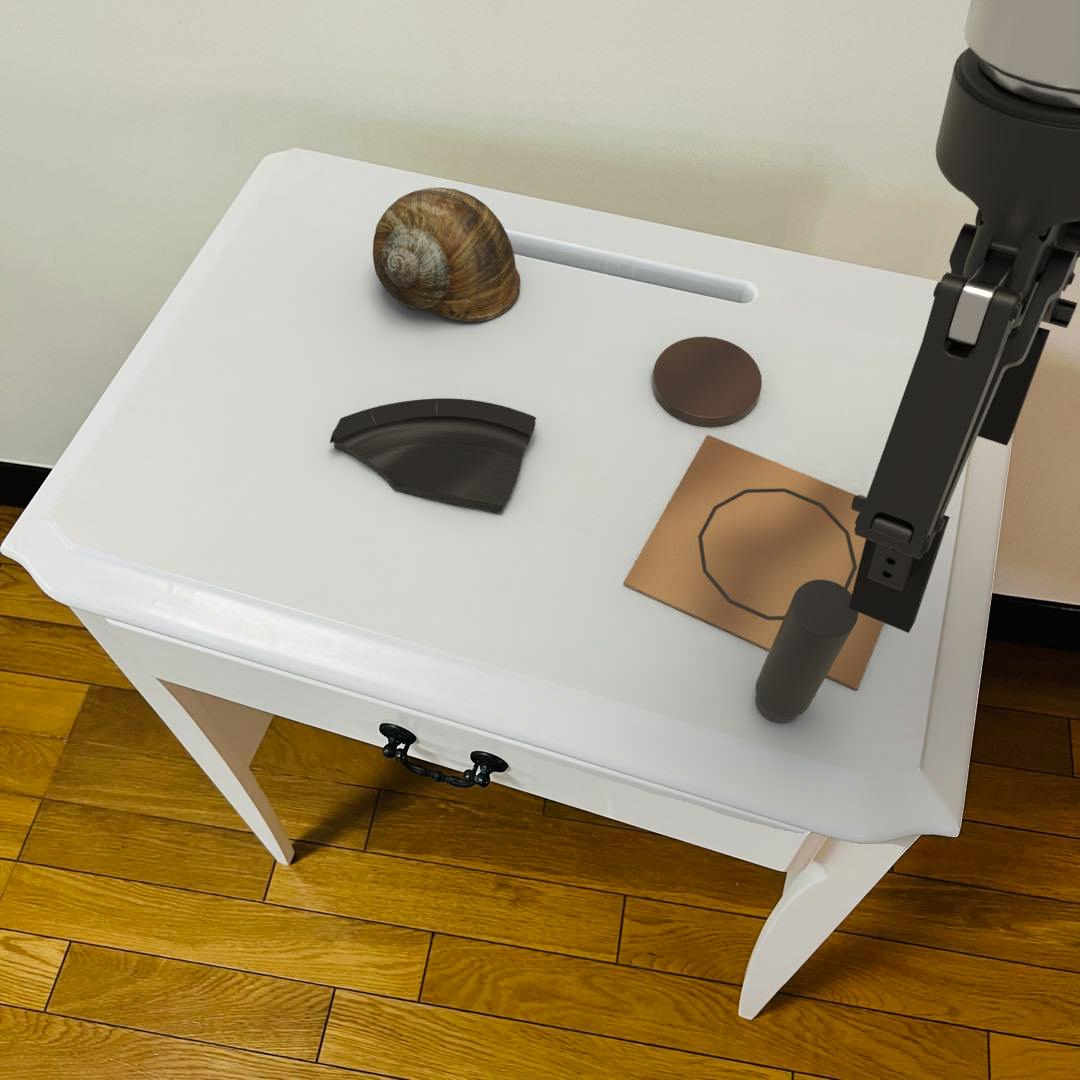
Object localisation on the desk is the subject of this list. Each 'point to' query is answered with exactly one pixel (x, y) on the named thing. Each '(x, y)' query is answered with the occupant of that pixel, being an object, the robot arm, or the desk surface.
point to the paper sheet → (754, 549)
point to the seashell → (446, 255)
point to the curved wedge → (441, 448)
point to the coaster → (706, 381)
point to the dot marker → (804, 649)
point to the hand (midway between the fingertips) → (935, 517)
